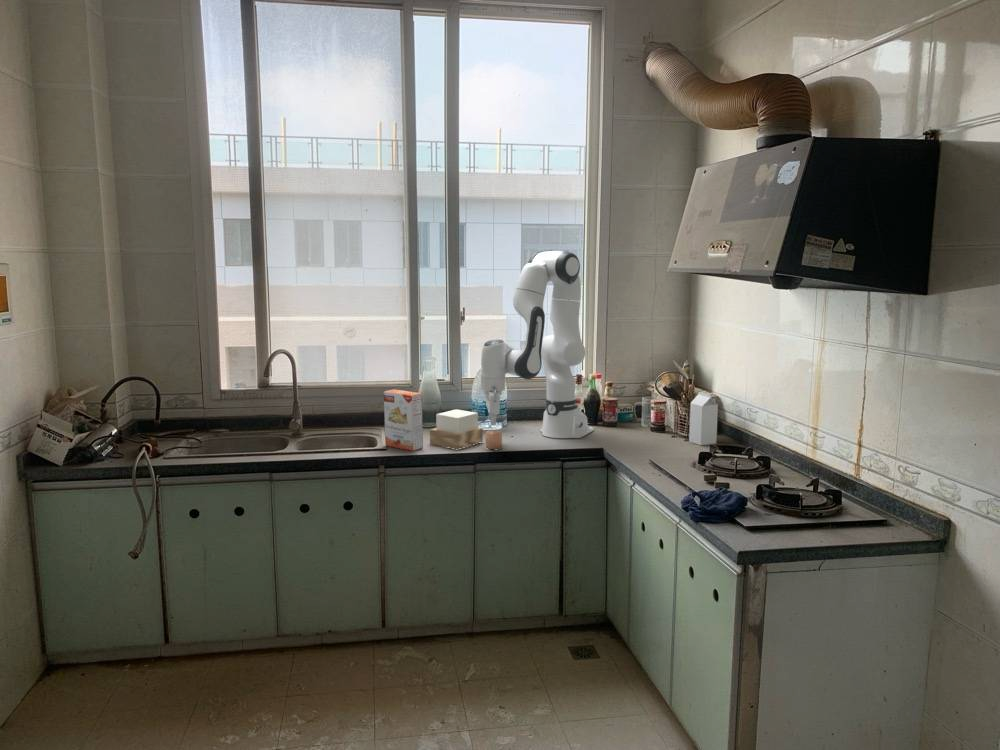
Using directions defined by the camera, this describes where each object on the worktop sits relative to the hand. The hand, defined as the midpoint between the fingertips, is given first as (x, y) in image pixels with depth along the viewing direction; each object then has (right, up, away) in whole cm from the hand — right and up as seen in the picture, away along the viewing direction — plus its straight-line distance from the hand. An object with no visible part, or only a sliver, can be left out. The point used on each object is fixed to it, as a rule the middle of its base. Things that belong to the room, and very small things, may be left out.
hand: (492, 422), depth 270 cm
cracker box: (-33, -10, +3) cm, 34 cm away
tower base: (-14, -9, +9) cm, 18 cm away
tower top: (-13, -3, +8) cm, 15 cm away
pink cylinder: (+1, -10, +2) cm, 10 cm away
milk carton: (+79, -8, +8) cm, 80 cm away
